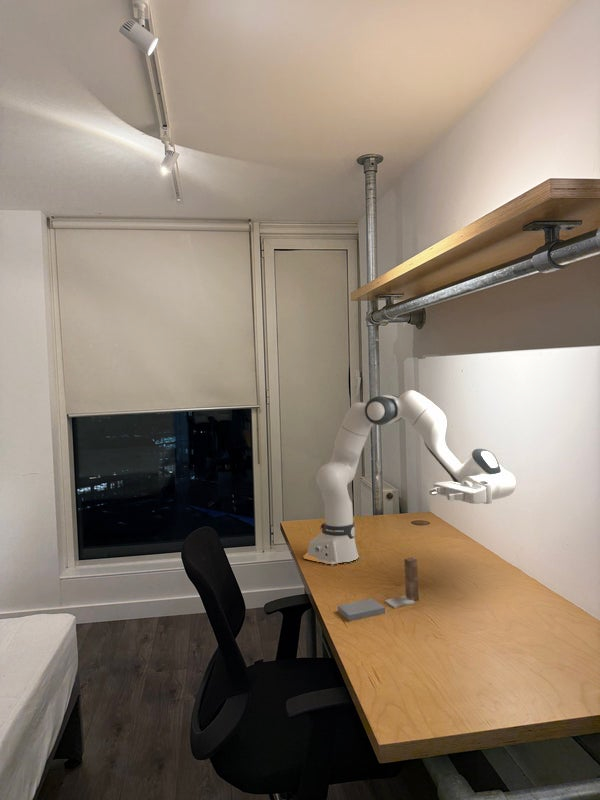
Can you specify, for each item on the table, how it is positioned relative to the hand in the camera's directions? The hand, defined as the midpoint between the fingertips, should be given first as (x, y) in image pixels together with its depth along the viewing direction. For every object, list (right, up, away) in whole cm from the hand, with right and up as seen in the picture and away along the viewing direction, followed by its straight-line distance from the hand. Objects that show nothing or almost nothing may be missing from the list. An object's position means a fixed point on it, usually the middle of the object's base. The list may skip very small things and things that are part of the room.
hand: (439, 495), depth 183 cm
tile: (-21, -33, -8) cm, 40 cm away
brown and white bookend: (-13, -33, -5) cm, 36 cm away
